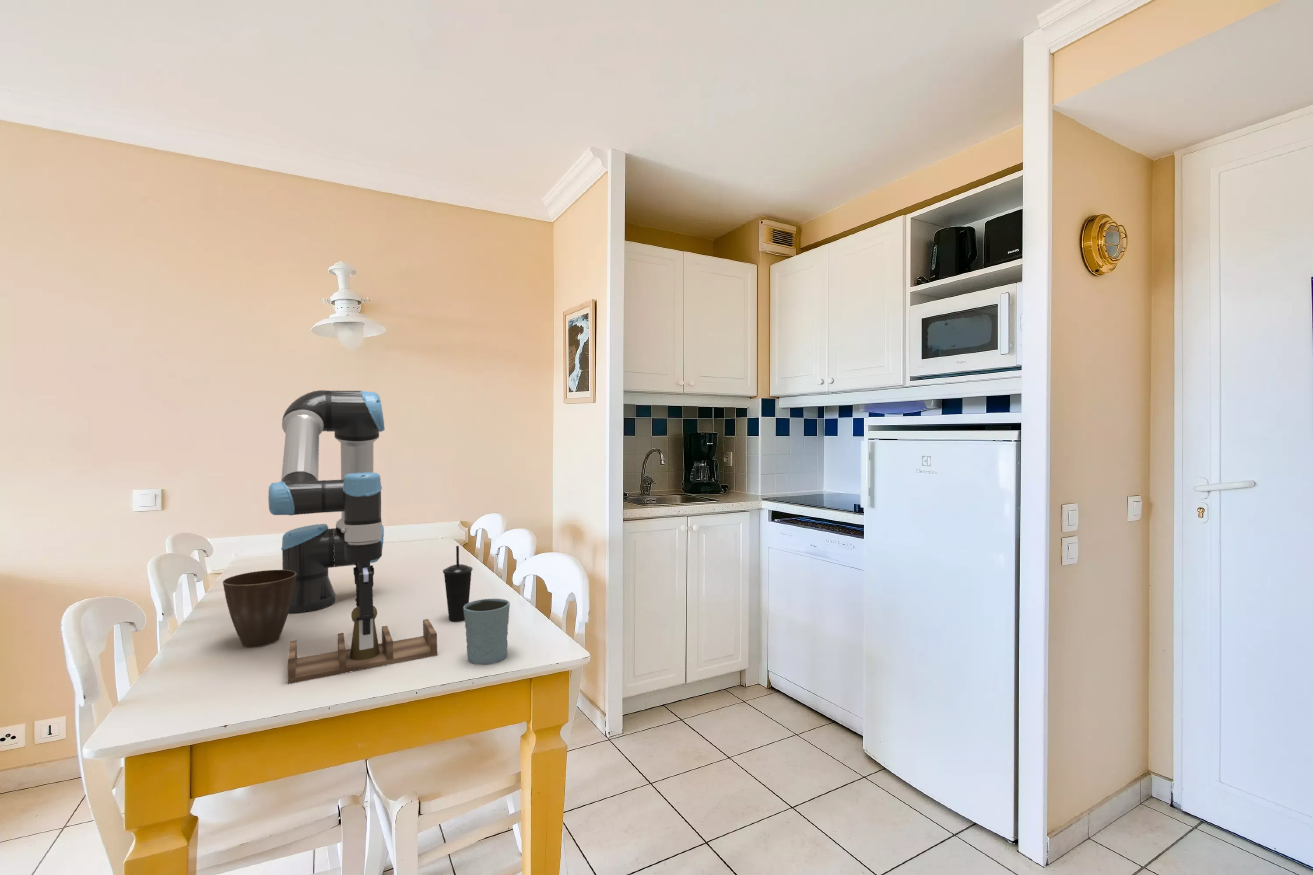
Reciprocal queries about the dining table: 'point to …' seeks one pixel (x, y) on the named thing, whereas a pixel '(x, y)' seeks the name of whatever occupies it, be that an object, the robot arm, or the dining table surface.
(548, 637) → the dining table surface
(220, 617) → the dining table surface
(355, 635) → the olive peg figure
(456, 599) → the drinking cup
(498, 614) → the grey-green tumbler
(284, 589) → the plant pot
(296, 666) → the spice rack
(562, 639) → the dining table surface
